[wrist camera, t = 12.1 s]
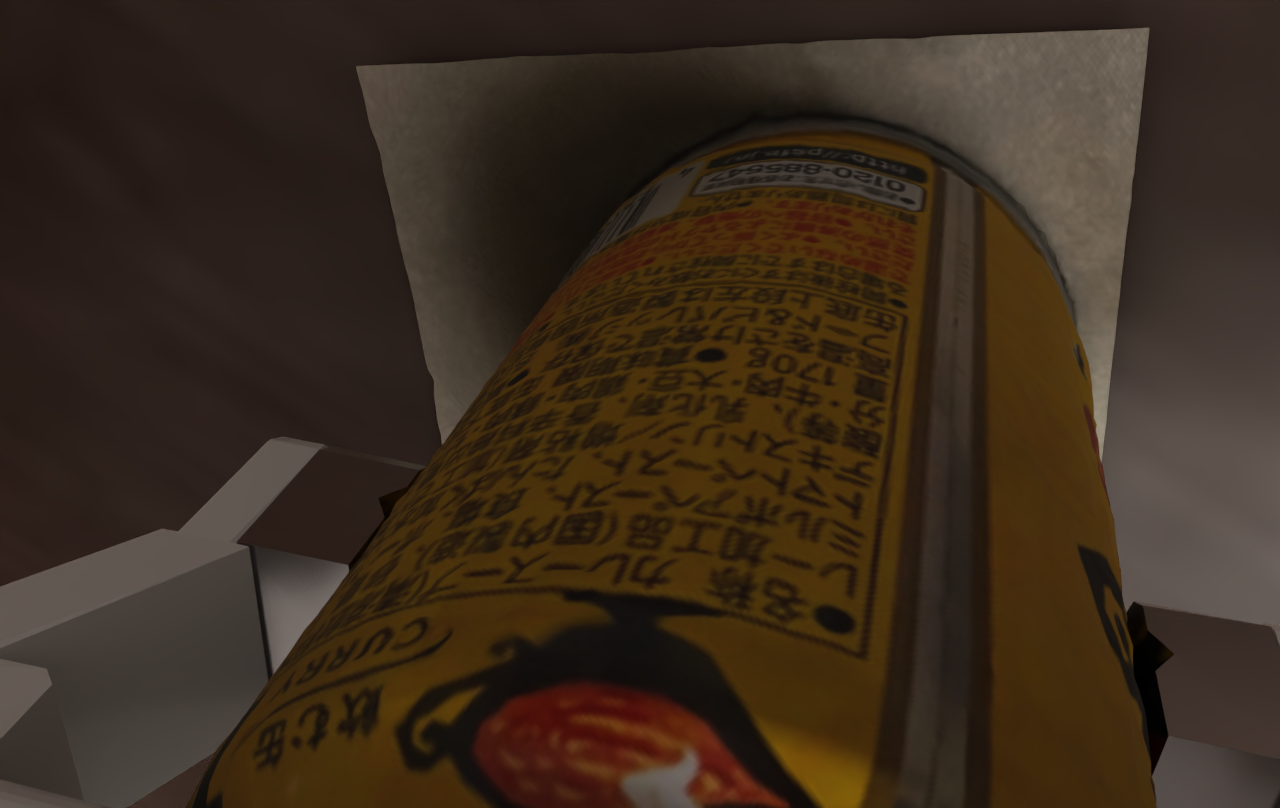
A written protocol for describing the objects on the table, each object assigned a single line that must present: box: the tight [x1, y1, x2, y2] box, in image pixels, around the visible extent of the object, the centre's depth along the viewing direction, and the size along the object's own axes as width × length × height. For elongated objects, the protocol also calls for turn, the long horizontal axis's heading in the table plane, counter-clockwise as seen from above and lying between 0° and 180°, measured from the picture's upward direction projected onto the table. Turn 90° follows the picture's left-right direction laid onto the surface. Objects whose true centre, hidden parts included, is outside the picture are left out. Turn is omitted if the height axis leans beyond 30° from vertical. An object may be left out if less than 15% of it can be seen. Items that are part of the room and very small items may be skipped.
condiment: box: [186, 28, 1157, 808], centre depth 9 cm, size 7×8×12 cm
